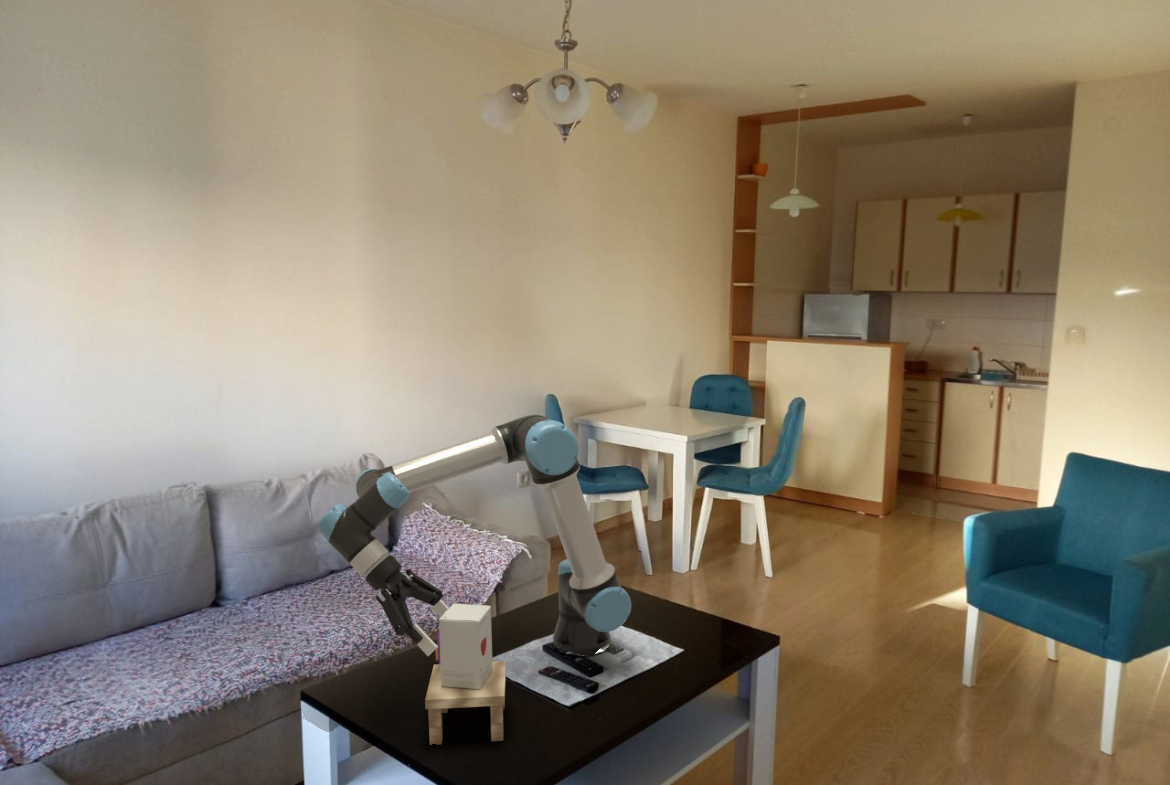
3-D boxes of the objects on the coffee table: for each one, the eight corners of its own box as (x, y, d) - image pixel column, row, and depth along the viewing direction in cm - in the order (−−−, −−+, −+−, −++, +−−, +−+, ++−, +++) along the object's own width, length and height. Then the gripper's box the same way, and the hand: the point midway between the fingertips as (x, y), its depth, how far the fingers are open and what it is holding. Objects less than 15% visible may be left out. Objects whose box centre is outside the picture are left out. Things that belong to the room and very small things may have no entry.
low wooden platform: (507, 703, 182) (505, 661, 181) (505, 741, 166) (504, 695, 165) (435, 707, 181) (433, 664, 179) (427, 746, 165) (425, 700, 164)
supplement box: (480, 690, 167) (478, 621, 165) (440, 687, 169) (437, 618, 167) (494, 670, 176) (492, 604, 174) (455, 667, 178) (452, 602, 176)
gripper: (390, 558, 186) (454, 625, 185) (337, 598, 161) (410, 675, 160) (411, 537, 184) (476, 604, 183) (360, 574, 160) (434, 652, 159)
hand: (445, 638), depth 172 cm, fingers open, 13 cm apart
